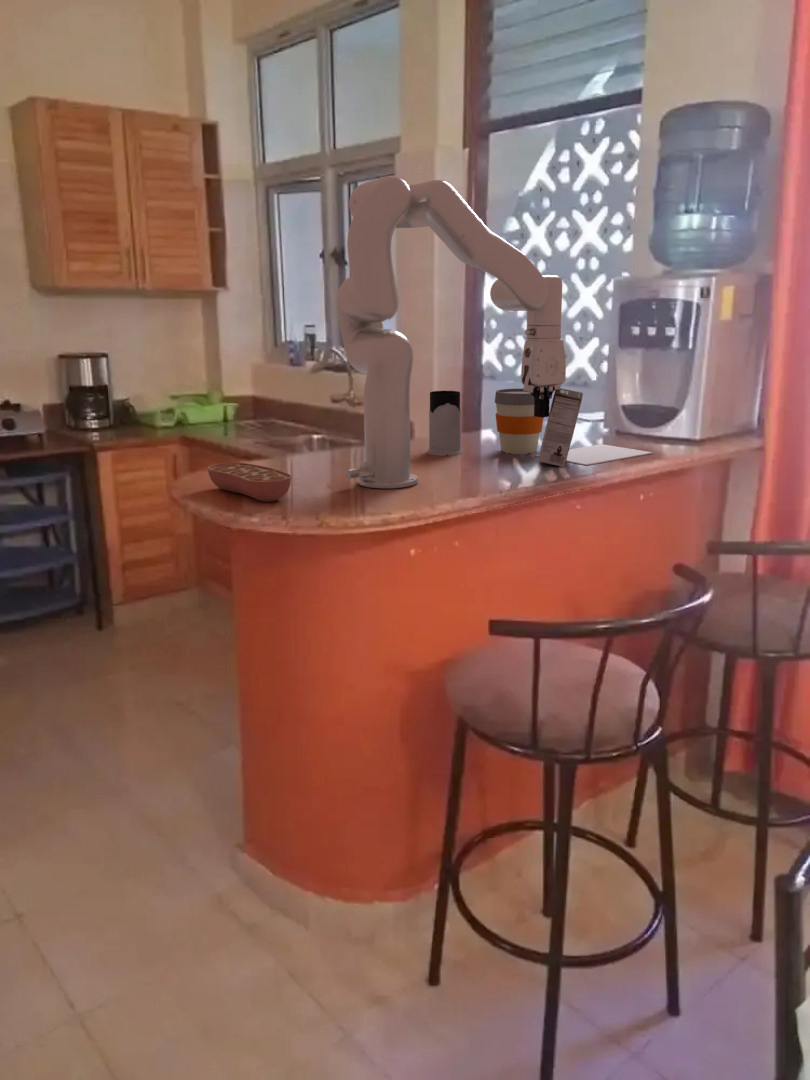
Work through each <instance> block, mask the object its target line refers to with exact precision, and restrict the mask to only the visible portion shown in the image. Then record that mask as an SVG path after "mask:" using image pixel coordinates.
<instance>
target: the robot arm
mask: <svg viewBox="0 0 810 1080" xmlns="http://www.w3.org/2000/svg"><path fill="white" fill-rule="evenodd" d="M348 202H349V204H348V207H349V212H350V214H351V216H352V219H351V221H350V225H349V228H348V232H347V233H348V234H347V241H346V243H347V246H346V247H347V256H348V264H349V270H350V271H349V272H350V276H349V277H347V278H346V279H345V280H344V281H343V282H342V284H341V285H340V286H339V289H338V291H337V296H336V309H337V315H338V321H339V327H340V332H341V337H342V342H343V348H344V353H345V355H346V358H347V361H348V362H349V364H350V366H351V367H352V368H354V370H356V371H357V372H359V373H363V374H365V375H366V378H365V382H364V387H363V401H362V402H363V429H364V461H362V462H360V466H358V467H357V468H351V469H346V470H345V472H344V473H345V474H344V475H345V477H346V479H348V480H350V479H356V478H357V479H358V480H357V482H358V485H360V486H363V487H365V488H371V489H384V490H385V489H387V490H389V489H400V488H401V489H402V488H407V487H408V488H409V487H411V486H414V485H416V484H418V482H419V477H418V476H417V475H416V474H414V473H411V415H410V414H411V409H410V406H411V405H410V399H411V398H410V392H411V378H412V371H413V365H414V350H413V347H412V344H411V342H410V341H409V339H408V338H407V337H406V336H405V335H404V334H403V333H402V332H399V331H398V330H395V329H392V328H391V329H390V328H384V325H383V323H386V322H387V321H390V320H392V319H393V318H394V316H396V314H397V312H398V310H399V304H400V302H399V293H398V288H397V283H396V276H395V269H394V263H393V258H392V257H393V256H392V241H393V235H394V233H395V232H394V231H395V230H396V229H416V228H417V229H418V228H426V227H429V228H430V229H431V230H432V232H433V233H434V234H436V236H437V237H438V238H439V239H440V240H441V241H442V242H443V243H444V244H445V245H446V246H447V248H448V250H450V251H451V254H453V255H454V256H455V257H456V258H457V259H458V260H459V261H460V262H462V263H464V264H466V265H468V266H470V267H473V268H475V269H478V270H481V271H483V272H485V273H487V274H490V275H491V276H493V277H495V279H496V280H495V281H494V282H493V283H492V285H491V288H490V291H489V294H490V296H489V297H490V300H491V302H492V303H493V304H494V306H495V307H497V308H498V309H500V310H502V311H506V312H519V311H520V312H526V329H525V330H524V334H525V335H526V340H525V341H524V345H523V350H522V358H521V369H520V371H521V372H520V374H521V375H520V379H521V383H522V384H523V388H522V389H523V391H525V392H529V393H531V395H532V398H533V399H534V416H535V417H542V418H543V417H544V418H548V417H549V413H550V400H551V399H553V394H554V393H555V390H557V389H559V388H561V385H562V384H564V383H565V382H566V376H567V375H566V373H567V367H566V366H567V365H566V363H567V361H566V351H565V350H566V349H565V343H564V339H562V338H561V337H562V336H561V335H562V307H563V306H562V305H563V301H562V300H563V279H562V278H561V277H560V276H558V275H544V274H542V273H541V272H540V270H539V269H538V268H537V267H536V266H535V264H534V263H533V261H531V260H530V259H529V258H528V257H527V256H526V255H525V254H524V253H523V252H522V251H521V250H519V249H518V248H516V247H515V246H513V245H512V244H511V243H509V242H508V241H506V240H505V239H504V238H502V237H501V236H499V235H497V234H496V233H494V232H493V231H491V230H490V228H489V227H488V226H486V224H485V223H484V222H483V220H482V219H481V218H479V216H478V215H477V214H476V213H475V211H474V210H473V209H472V208H471V206H470V205H469V204H468V203H467V202H466V201H465V199H464V198H463V197H462V196H461V194H459V192H458V191H457V190H456V189H455V188H454V186H452V184H450V183H449V182H447V181H445V180H442V179H433V180H429V181H425V182H421V183H416V184H408V183H407V182H406V181H405V180H404V179H402V178H400V177H398V176H392V175H390V176H389V175H388V176H382V177H379V178H376V179H372V180H370V181H366V182H364V183H360V185H358V186H356V187H355V188H354V189H353V191H352V192H351V194H350V197H349V201H348Z"/></svg>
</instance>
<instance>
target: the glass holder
mask: <svg viewBox="0 0 810 1080" xmlns="http://www.w3.org/2000/svg"><path fill="white" fill-rule="evenodd" d="M461 411H462V410H461V392H460V391H459V390H457V391H456V390H435V391H430V392H429V410H428V413H429V415H428V417H429V418H428V419H429V421H428V422H429V423H428V426H429V428H428V429H429V430H428V431H429V435H428V439H429V441H428V442H429V443H428V444H429V445H428V450H427V454H429V455H432V456H439V457H440V456H441V457H442V456H444V457H446V455H449V456H457V455H461V454H462V453H463V450H462V447H461V446H462V445H461V444H462V443H461V442H462V441H461V440H462V438H461V437H462V436H461V434H462V433H461V431H462V429H461V428H462V427H461V425H462V423H461V421H462V419H461V418H462V412H461Z"/></svg>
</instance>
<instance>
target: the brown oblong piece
mask: <svg viewBox="0 0 810 1080" xmlns="http://www.w3.org/2000/svg"><path fill="white" fill-rule="evenodd" d="M207 473H208V475H209V479H210V480H211V482H212V483H213V484H214V485H215V486H216V487H217V488H219V489H220V490H221V489H222V490H224V491H227V492H231V493H232V492H233V493H237V494H241V495H244V496H248V497H250V498H253V499H255V500H257V501H259V502H263V503H264V502H265V503H270V502H271V503H273V502H277V501H278V500H280V499H282V498H283V497H284V496H286V494H287V492H288V491H289V489H290V487H291V484H292V483H291V482H292V476H291V475H292V474H290V473H288V472H286V471H283V470H279V469H275V468H272V467H270V466H263V465H258V464H252V463H246V462H224V463H217V464H213V465H210V466H208V467H207Z"/></svg>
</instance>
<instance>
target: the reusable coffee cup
mask: <svg viewBox="0 0 810 1080" xmlns="http://www.w3.org/2000/svg"><path fill="white" fill-rule="evenodd" d="M494 395H495V397H494V404H495V405H496V406H495V407H496V408H495V409H496V413H495V421H496V431H497V432H498V435H499V444H500V452H501V451H503V452H506V453H505V454H508V453H511V455H529V454H528V453H531V454H535V453H537V451H538V447H539V446H538V445H539V438H540V434H541V433H542V430H543V425H544V420H545V419H544V418H545V417H543V418H542V417H535V416H534V399H533V398H532V395H531V393H529V392H525V391H523V388H504V389H503V388H501V389H497V390H495V394H494ZM503 452H502V453H503Z"/></svg>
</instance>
